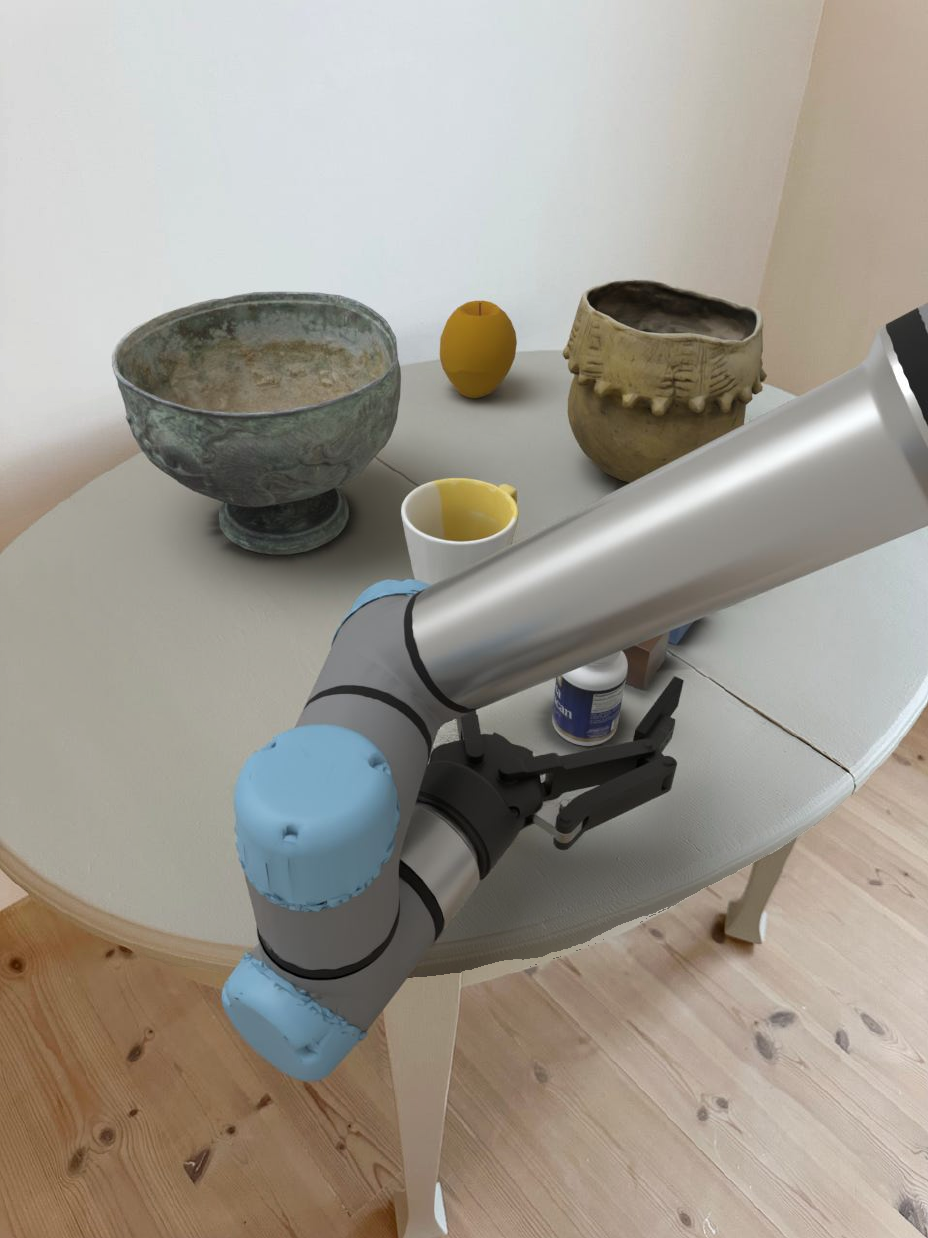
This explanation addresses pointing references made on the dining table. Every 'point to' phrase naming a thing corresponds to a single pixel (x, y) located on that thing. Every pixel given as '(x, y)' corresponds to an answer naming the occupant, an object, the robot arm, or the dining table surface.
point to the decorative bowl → (264, 407)
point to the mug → (456, 525)
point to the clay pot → (658, 372)
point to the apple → (477, 348)
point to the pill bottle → (590, 700)
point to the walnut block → (645, 660)
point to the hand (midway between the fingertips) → (594, 655)
